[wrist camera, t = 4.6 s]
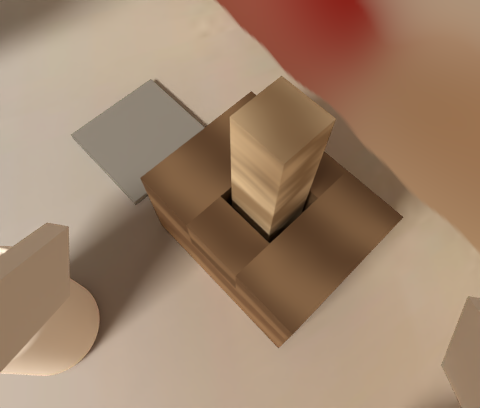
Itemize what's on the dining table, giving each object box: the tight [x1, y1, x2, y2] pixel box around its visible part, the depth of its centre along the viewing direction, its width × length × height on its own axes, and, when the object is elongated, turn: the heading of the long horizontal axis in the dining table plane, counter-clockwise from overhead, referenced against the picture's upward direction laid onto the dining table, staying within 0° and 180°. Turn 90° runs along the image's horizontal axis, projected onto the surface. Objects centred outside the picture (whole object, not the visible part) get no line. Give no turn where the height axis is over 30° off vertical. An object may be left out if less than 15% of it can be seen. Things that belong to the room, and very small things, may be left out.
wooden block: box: [230, 76, 336, 243], centre depth 28 cm, size 4×4×14 cm
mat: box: [71, 79, 204, 205], centre depth 45 cm, size 11×11×1 cm
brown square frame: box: [140, 91, 403, 348], centre depth 36 cm, size 13×16×10 cm
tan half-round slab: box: [0, 246, 100, 376], centre depth 31 cm, size 8×8×12 cm
